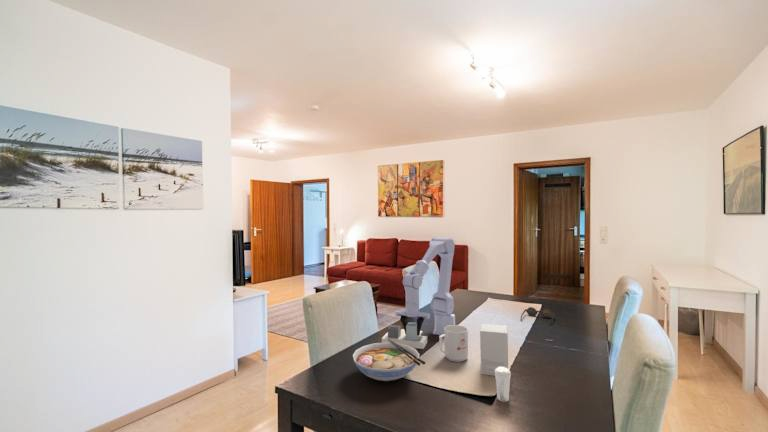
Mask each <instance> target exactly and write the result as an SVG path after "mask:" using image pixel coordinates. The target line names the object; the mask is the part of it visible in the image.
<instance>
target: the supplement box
mask: <svg viewBox="0 0 768 432" xmlns="http://www.w3.org/2000/svg"><path fill="white" fill-rule="evenodd" d="M507 327H508V326H507V325H504V324H503V325H501V324H493V323H492V324H489V323H481V326H480V330H479V337H480V342H479V344H480V375H485V376H494V377H495V371H494V370H495V369H496V368H497V367H499V366H501V367H505V368H507V369H509V339H508V338H509V337H508V335H509V334H508V328H507ZM493 367H494V369H493Z"/></svg>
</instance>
